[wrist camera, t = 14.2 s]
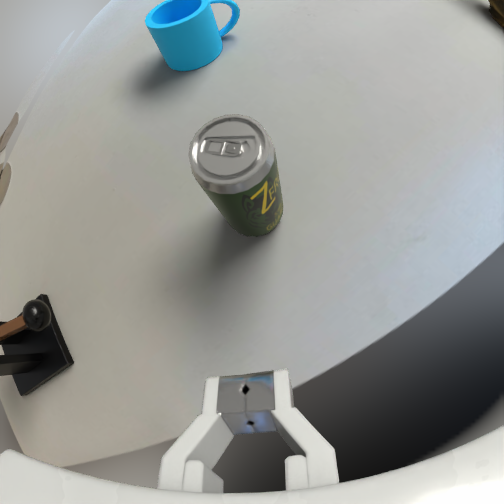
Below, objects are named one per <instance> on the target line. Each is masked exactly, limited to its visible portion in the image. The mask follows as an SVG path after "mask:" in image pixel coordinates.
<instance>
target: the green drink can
mask: <svg viewBox="0 0 504 504" xmlns="http://www.w3.org/2000/svg"><path fill="white" fill-rule="evenodd" d="M189 159H190V164H191V169H192V174H193V175H194V177H195V178H196V180H197V182H198V183H199V184H200V186H201V187H202V188H203V190H204V191H205V192H206V194H207V195H208V196H209V198H210V199H211V200H212V202H213V203H214V204H215V206H216V207H217V208H218V210H219V211H220V212H221V214H222V215H223V216H224V218H225V219H226V220H227V222H228V223H229V224H230V226H231V227H232V228H233V229H234V230H236V231H237V232H238V233H240V234H243V235H245V236H255V237H257V236H261V235H264V234H267V233H268V232H270V231H271V230H273V229H274V228H275V227H276V226H277V224H278V223H279V222H280V219H281V217H282V214H283V201H282V194H281V187H280V180H279V173H278V167H277V160H276V154H275V148H274V145H273V142H272V139H271V137H270V136H269V135H268V134H267V132H266V130H265V129H264V128H263V126H262V125H261V124H260V123H259V122H258V121H256V120H254V119H252V118H251V117H248V116H243V115H239V114H234V115H224V116H221V117H218V118H214V119H213V120H211V121H209V122H208V123H206V124H205V125H203V126H202V127H201V128H200V129H199V130H198V132H197V133H196V134H195V136H194V138H193V139H192V141H191V143H190V148H189Z"/></svg>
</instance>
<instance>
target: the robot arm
mask: <svg viewBox="0 0 504 504" xmlns="http://www.w3.org/2000/svg"><path fill="white" fill-rule="evenodd" d="M275 431H278V432H279V434H280V435H281V436H282V437H283V438H284V440H285V441H286V442H287V444H288V445H289V446H290V448H291V449H292V450H293V451H294V453H295V454H296V456H289V457H288V458H287V459H286V460H285V469H286V470H285V472H286V491H276V492H262V493H223V480H222V479H221V478H220V477H219V476H218V475H216V474H215V473H214V472H213V471H212V469H213V467H214V466H215V464H216V463H217V461H218V460H219V458H220V457H221V455H222V454H223V452H224V451H225V449H226V448H227V446H228V444H229V443H230V442H231V440H232V438H233V435H237V434H248V433H262V432H275ZM0 504H504V425H503V426H501V427H499V428H497V429H495V430H494V431H492V432H490V433H488V434H486V435H484V436H482V437H480V438H478V439H475V440H473V441H471V442H469V443H467V444H465V445H462V446H460V447H458V448H455V449H453V450H451V451H448V452H446V453H443V454H441V455H438V456H435V457H433V458H430V459H427V460H424V461H422V462H419V463H416V464H413V465H410V466H407V467H403V468H400V469H397V470H393V471H390V472H386V473H382V474H379V475H375V476H371V477H367V478H362V479H358V480H354V481H348V482H343V483H339V478H338V471H337V464H336V457H335V450H334V448H333V447H332V446H331V445H330V444H329V443H328V442H327V441H326V440H325V439H324V438H323V437H322V436H321V435H320V433H319V432H318V431H317V430H316V429H315V428H314V427H313V426H312V425H311V424H310V423H309V422H308V421H307V419H306V418H305V417H304V416H303V415H302V414H301V413H300V412H299V411H298V410H297V409H296V408H294V400H293V392H292V386H291V381H290V375H289V370H288V369H282V370H275V371H274V370H272V371H265V372H258V373H250V374H244V375H233V376H218V377H207V379H206V381H205V387H204V396H203V404H202V413H201V415H197V417H196V418H195V419H194V420H193V421H192V423H191V424H190V425H189V426H188V427H187V429H186V430H185V431H184V432H183V433H182V434H181V436H180V437H179V438H178V439H177V440H176V441H175V443H174V444H173V445H172V446H171V447H170V449H169V450H168V451H167V452H166V453H165V454H164V455H163V456H162V458H161V464H160V470H159V477H158V484H157V488H148V487H142V486H136V485H130V484H125V483H119V482H115V481H109V480H105V479H101V478H96V477H93V476H89V475H85V474H81V473H77V472H74V471H70V470H67V469H64V468H61V467H58V466H54V465H51V464H49V463H46V462H43V461H40V460H37V459H35V458H32V457H29V456H27V455H24V454H22V453H19V452H17V451H14V450H11V449H8V450H5V451H4V452H3V453H1V454H0Z"/></svg>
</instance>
